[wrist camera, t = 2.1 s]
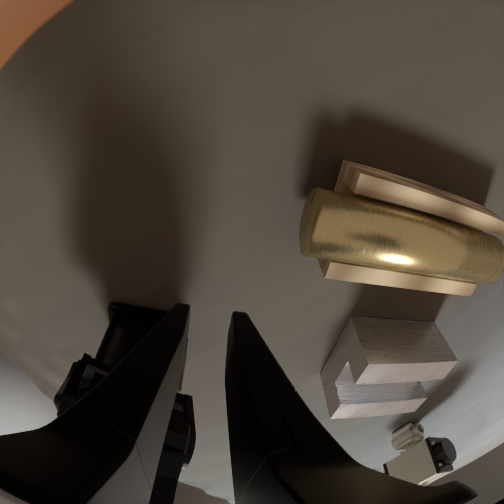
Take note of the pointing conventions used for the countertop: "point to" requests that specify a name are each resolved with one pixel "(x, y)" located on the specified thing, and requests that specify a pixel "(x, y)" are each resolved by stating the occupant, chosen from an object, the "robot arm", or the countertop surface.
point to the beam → (416, 199)
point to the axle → (396, 238)
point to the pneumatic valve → (420, 456)
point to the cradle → (383, 366)
